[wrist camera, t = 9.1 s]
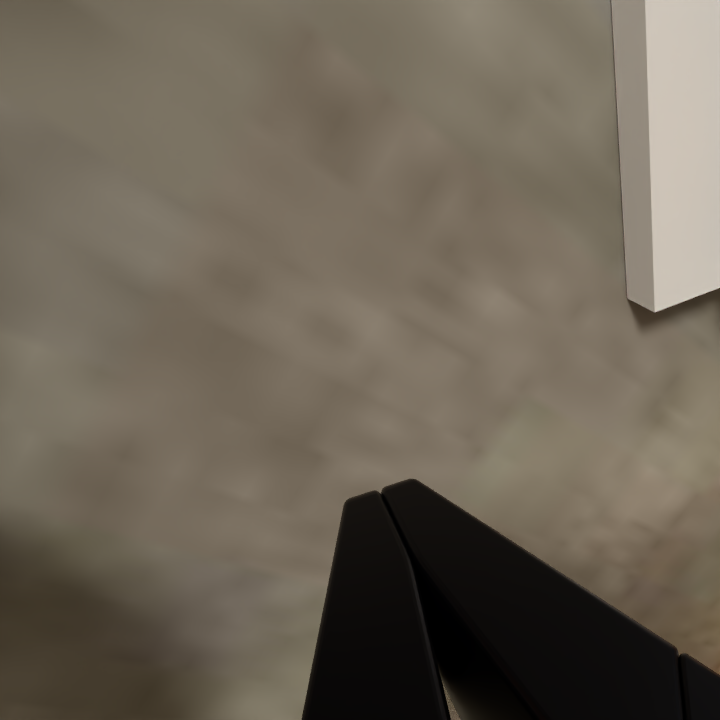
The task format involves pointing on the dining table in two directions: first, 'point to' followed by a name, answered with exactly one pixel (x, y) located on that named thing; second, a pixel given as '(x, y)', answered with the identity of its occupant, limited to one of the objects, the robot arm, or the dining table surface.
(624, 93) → the switch console
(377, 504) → the robot arm
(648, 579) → the dining table surface
